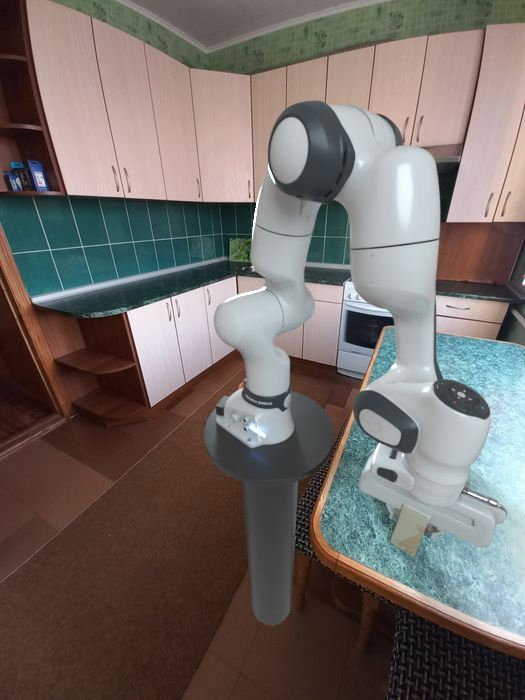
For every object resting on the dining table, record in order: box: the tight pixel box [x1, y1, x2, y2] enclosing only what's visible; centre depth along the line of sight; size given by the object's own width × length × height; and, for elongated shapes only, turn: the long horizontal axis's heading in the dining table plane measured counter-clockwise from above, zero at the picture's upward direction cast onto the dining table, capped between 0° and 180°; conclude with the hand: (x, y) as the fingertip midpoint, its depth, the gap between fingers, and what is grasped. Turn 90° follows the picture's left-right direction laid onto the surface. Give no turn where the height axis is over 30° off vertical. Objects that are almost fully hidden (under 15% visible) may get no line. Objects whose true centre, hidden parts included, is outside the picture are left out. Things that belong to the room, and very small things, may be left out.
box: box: [390, 504, 431, 558], centre depth 52 cm, size 5×4×11 cm
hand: (410, 525), depth 53 cm, fingers closed on box, 4 cm apart
